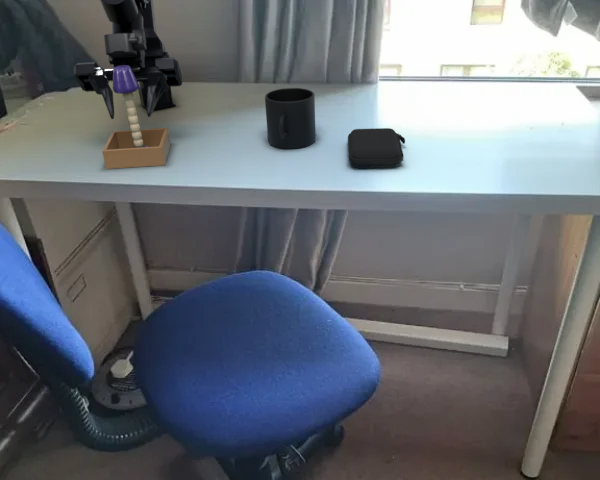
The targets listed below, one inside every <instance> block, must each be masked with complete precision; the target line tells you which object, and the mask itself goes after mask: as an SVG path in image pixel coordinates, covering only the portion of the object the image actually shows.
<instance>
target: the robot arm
mask: <svg viewBox="0 0 600 480" xmlns="http://www.w3.org/2000/svg"><path fill="white" fill-rule="evenodd" d="M99 2H100V4H101V6H102V9H103V11H104V13H105V15H106V17H107V19H108V21H109V22H110V23H111V31H112V32H111V33H107V34H104V35H103V39H104V48H105V55H106V56H108V63H109V64H110V66H111V65H112V68H103V67H99V65H98V63H97V62H96V61H91V62H89V61H88V62H77V63H76V64H75V65H74V67H73V77H74V78H75V80H76V82H77V83H78V85H79V87H80V88H81V90H82V91H83V92H87V93H89V92H91V93H92V92H95V94H96V95H99V96H100V95H101V96H102V98H103V101H104V103H105V107H106V109H107V112H108V115H109V117H110V119H111V120H114V119H115V102H114V91H113V89H112V87H111V86H110V81H113V69H114V68H115V67H116V66H120V65H128V66H130V68H131V69H132V71H133V73H134V76H135V78H136V80H137V82H138V84H139V89H138V90H137V91H138V95H139V100H140V105H141V106H142V107H143V108H145V109H146V115H147V118H151V117H152V115H153V112H154V111H157V110H162V109H168V108H172V107H176V106H177V105H176V102H174V101H173V93H172V87H181V86H182V85H183V75H182V70H181V67H180V63H179V60H178V59H177V58H176V57H171V56H170V54H169V51H166V45H165V44H164V43H163V41H162V40H161V38H160V37H159V35H158V33H157V26H156V25H157V24H156V17H155V15H156V14H155V8H154V7H155V6H154V0H99Z"/></svg>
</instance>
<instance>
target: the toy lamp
mask: <svg viewBox="0 0 600 480" xmlns="http://www.w3.org/2000/svg"><path fill="white" fill-rule="evenodd" d="M112 69H113V68H112ZM139 86H140V83H139V82H137V80H136V78H135V76H134V73H133V71H132V69H131V68H130V66H128V65H120V66H116V67H115V68H114V69H113V80H112V92H113V93H115V94H121V95H122V97H123V99H124V105H125V107H126V108H125V109H126V114H127V115H128V117H127V119H128V123H129V130H131V131H132V137H133V139H134V145H135V147H134V148H142V147H147V146H144V145H143V140H142V139H141V138H142V134H141V132H140V129H141V126H140V123H139V117H138V115H137V108H136V101H135V99H134V92H137V91H139V90H138V89H139Z"/></svg>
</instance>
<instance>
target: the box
mask: <svg viewBox="0 0 600 480" xmlns="http://www.w3.org/2000/svg"><path fill="white" fill-rule="evenodd" d="M169 131H170V130H169V127H159V128H158V127H156V128H155V127H154V128H142V129H141V128H140V132H141V134H142V138H141V139H142V140H143V145H144V146H147V147H142V148H134V147H135V145H134V139H133V137H132V131H131V129H124V130H112V131H111V134H110V135H109V136H108V139H107V140H106V143H105V145H104V147H103V148H102V151H101V152H102V156H103V161H104V165H105V169H106V170H113V169H114V170H115V169H128V168H131V169H132V168H144V167H145V168H147V167H159V166H160V167H162V166H166V162H167V159H168V156H169V152H170V149H171V145H172V143H171V138H170V132H169Z"/></svg>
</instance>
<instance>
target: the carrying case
mask: <svg viewBox="0 0 600 480" xmlns="http://www.w3.org/2000/svg"><path fill="white" fill-rule="evenodd" d="M403 144H406V139H405V137H404V136H403V135H401V134H400V133H397V132H396V131H395V129H393V128H389V127H385V128H384V127H380V128H378V127H377V128H355V129H352V131H351V132H350V133H348V136H347V153H348V154H347V155H348V162H349V164H351V165H352V166H353V167H354V168H358V169H363V168H364V169H367V168H370V169H371V168H394V167H397V166H399V165H400V163H402V162H403V161H404V153H403V147H402V145H403Z"/></svg>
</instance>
